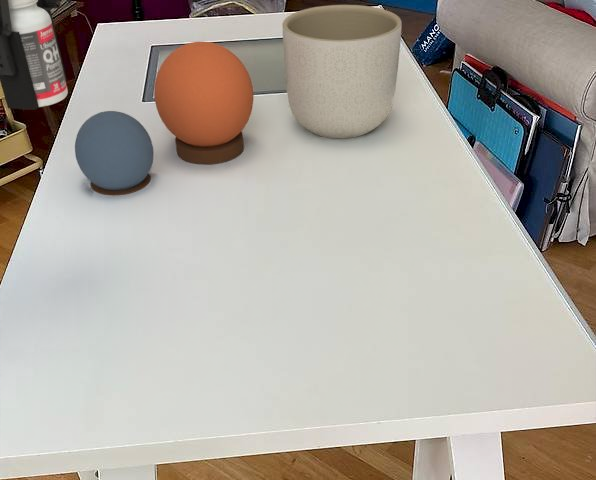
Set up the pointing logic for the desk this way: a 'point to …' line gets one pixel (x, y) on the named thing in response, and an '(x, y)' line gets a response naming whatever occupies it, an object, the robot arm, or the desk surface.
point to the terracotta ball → (204, 101)
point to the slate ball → (114, 153)
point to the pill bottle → (39, 50)
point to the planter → (341, 67)
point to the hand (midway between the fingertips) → (38, 94)
